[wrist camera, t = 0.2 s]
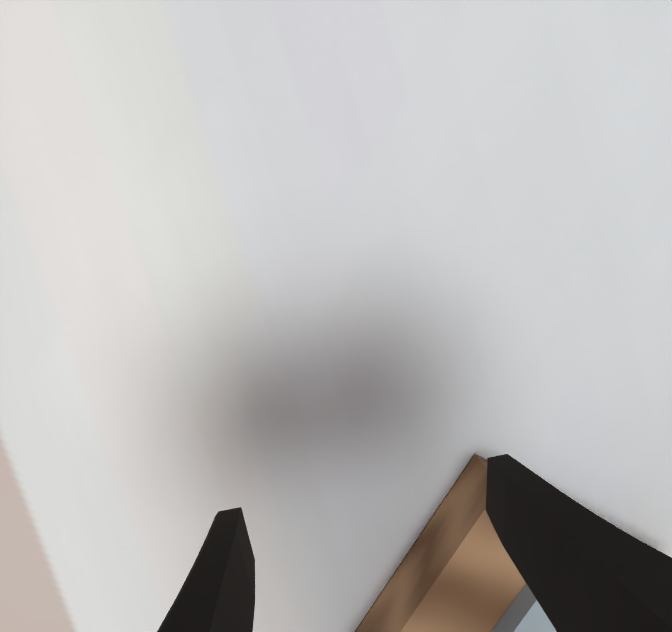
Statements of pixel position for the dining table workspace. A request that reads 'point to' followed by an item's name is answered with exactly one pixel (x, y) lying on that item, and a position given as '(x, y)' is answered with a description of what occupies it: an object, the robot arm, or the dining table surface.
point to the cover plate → (524, 615)
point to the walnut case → (451, 569)
